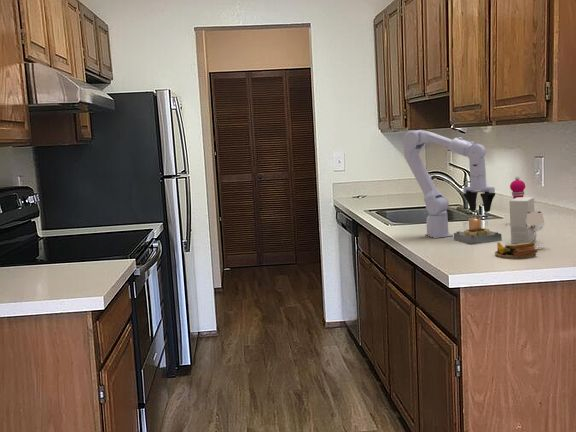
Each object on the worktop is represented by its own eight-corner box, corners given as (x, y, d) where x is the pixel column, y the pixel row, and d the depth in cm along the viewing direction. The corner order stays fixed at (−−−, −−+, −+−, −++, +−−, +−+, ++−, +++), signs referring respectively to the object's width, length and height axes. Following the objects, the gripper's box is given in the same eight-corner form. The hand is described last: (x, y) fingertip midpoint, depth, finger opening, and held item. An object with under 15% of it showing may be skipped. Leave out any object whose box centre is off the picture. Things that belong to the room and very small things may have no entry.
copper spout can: (472, 234, 222) (471, 217, 221) (467, 233, 226) (466, 216, 226) (483, 233, 222) (482, 216, 222) (478, 232, 227) (477, 214, 226)
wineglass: (540, 245, 202) (538, 210, 201) (548, 248, 197) (546, 212, 195) (523, 247, 202) (521, 212, 201) (531, 250, 197) (529, 214, 195)
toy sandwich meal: (530, 250, 198) (529, 236, 197) (542, 258, 184) (542, 243, 184) (491, 253, 199) (490, 239, 199) (501, 261, 186) (500, 246, 185)
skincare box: (518, 239, 217) (516, 197, 215) (537, 240, 213) (535, 196, 211) (510, 244, 211) (508, 200, 209) (529, 244, 206) (527, 199, 205)
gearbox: (450, 238, 234) (449, 229, 233) (479, 234, 236) (478, 225, 235) (471, 244, 217) (470, 234, 217) (501, 240, 219) (501, 230, 219)
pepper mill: (530, 224, 249) (527, 176, 247) (512, 225, 251) (509, 177, 249) (527, 221, 256) (524, 175, 254) (509, 222, 258) (506, 176, 256)
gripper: (456, 176, 234) (459, 211, 235) (483, 176, 221) (485, 213, 222) (470, 175, 237) (473, 209, 238) (498, 174, 224) (500, 210, 225)
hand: (480, 211), depth 230 cm, fingers open, 7 cm apart
